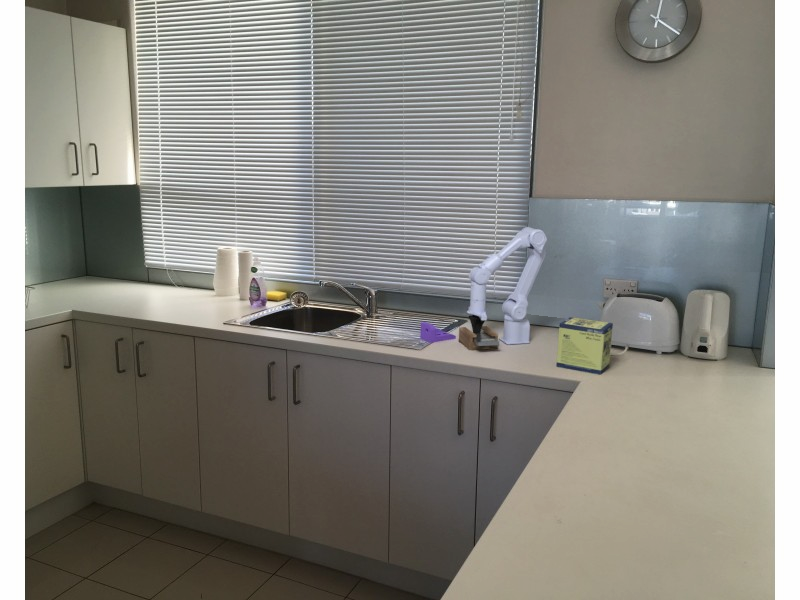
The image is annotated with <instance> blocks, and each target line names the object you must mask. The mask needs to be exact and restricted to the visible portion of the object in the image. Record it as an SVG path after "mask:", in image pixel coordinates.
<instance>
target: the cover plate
mask: <svg viewBox="0 0 800 600" xmlns="http://www.w3.org/2000/svg"><path fill="white" fill-rule="evenodd" d="M474 334H476V337H473V342H474V343H475V344H476V345H478V346H490V345H498V346H500V340H499V339H498V340H497V339H496V338H494V337H493V336H490V335H489V334H487V333H483V332H480V333H474Z"/></svg>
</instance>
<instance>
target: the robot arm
mask: <svg viewBox="0 0 800 600" xmlns="http://www.w3.org/2000/svg"><path fill="white" fill-rule="evenodd" d="M547 242H548V238H547V236H546V234H545V232H544V231H543V230H542V229H537V228H532V227H529V226H526V227H523V228H522V229H521V230H520V231H518V232H517V233H516V235H515V236H514V237H513V238H512V239H510V241H509V242H508V243H506V245H505V246H503V247H502V249H501V250H500V251H498V253H491V254H490V253H489V254H488V255H487V258H486V259H485V260H483V261H482V262H481V263H479V264H477V266H474V267H472V269H471V270H470V272H469V273H468V279H469V280H470V297H469V298H470V299H469V300H470V301H469V302H470V303H469V306H468V310H467V311H466V313H467V314H468V319H469V321H470V324H471V329H472V332H473V333H482V326H484V323H485V322H486V321H488V316H487V315H488V314H487V313H486V302H487V301H486V299H487V298H486V297H487V283H488V282H489V281H490V277H491V276H492V275H493V274H494V273H495V272H497V271H498V270H499V269H500V268H501V267H502V266H503V265H504V260H506V259H508V257H510V256H511V255H512V254H514V253H515V252H516V251H518V250H519V249H521V248H527V251H528V253H529V256H528V259H527V261H526V263H525V265H524V268H523V270H522V273H521V274H520V277H519V279H518V282H517V284H516V286H515V289H514V290H513V292H512V293H511V294H510V295H508V297H507V299H506V300H505V301H504V302H502V303H503V304H502V305H501V311H502V313H503V314H504V318H503V334H502V337H498V340H499V341H502V342H503V343H505V344H506V345H519V344H520V345H521V344H530V343H531V342H530V332H531V331H530V330H531V325H530V321H529V320H528V318H526V316H527V314H528V313H527V311H528V310H527V309H528V306H529V302H528V296H529V294H530V292H531V290H532V288H533V285H534V283H535V280H536V278H537V275H538V274H539V271H540V270H541V267H542V264H543V262H544V260H545V257H546V255H547V248H546V246H547V245H546V244H547ZM470 314H471V315H470Z"/></svg>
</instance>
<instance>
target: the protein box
mask: <svg viewBox="0 0 800 600" xmlns="http://www.w3.org/2000/svg"><path fill="white" fill-rule="evenodd" d="M558 326H559V328H558V340H557V351H556V353H557V354H556V365H555V366H556V367H558V368H563V369H570V370H575V371H578V372H585V373H589V374H596V375H599V376H600V375H602V374H603V373H604V372H605V371H606V370H607V369H608V368H610V361H611V359H610V358H611V346H612V335H613V327H614V323H613V322H606V321H599V320H592V319H585V318H578V317H568V318H566V319H565V320H563V321H562V322H560V323H559V325H558Z"/></svg>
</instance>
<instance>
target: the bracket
mask: <svg viewBox="0 0 800 600" xmlns="http://www.w3.org/2000/svg"><path fill="white" fill-rule="evenodd" d="M419 337H420V338H419V339H420V340H422V341H425V342H427V341H428V342H427V343H430V344H433V343H438V342H439V343H440V342H445V341H451V340H456V339H457V336H456V335H455V334H452V333H449V332H446V331H445V330H444V331H443V330H441V329H438V328H436V326H435V325H434V324H432V323H429V322H426V321H421V322H420V336H419Z"/></svg>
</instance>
